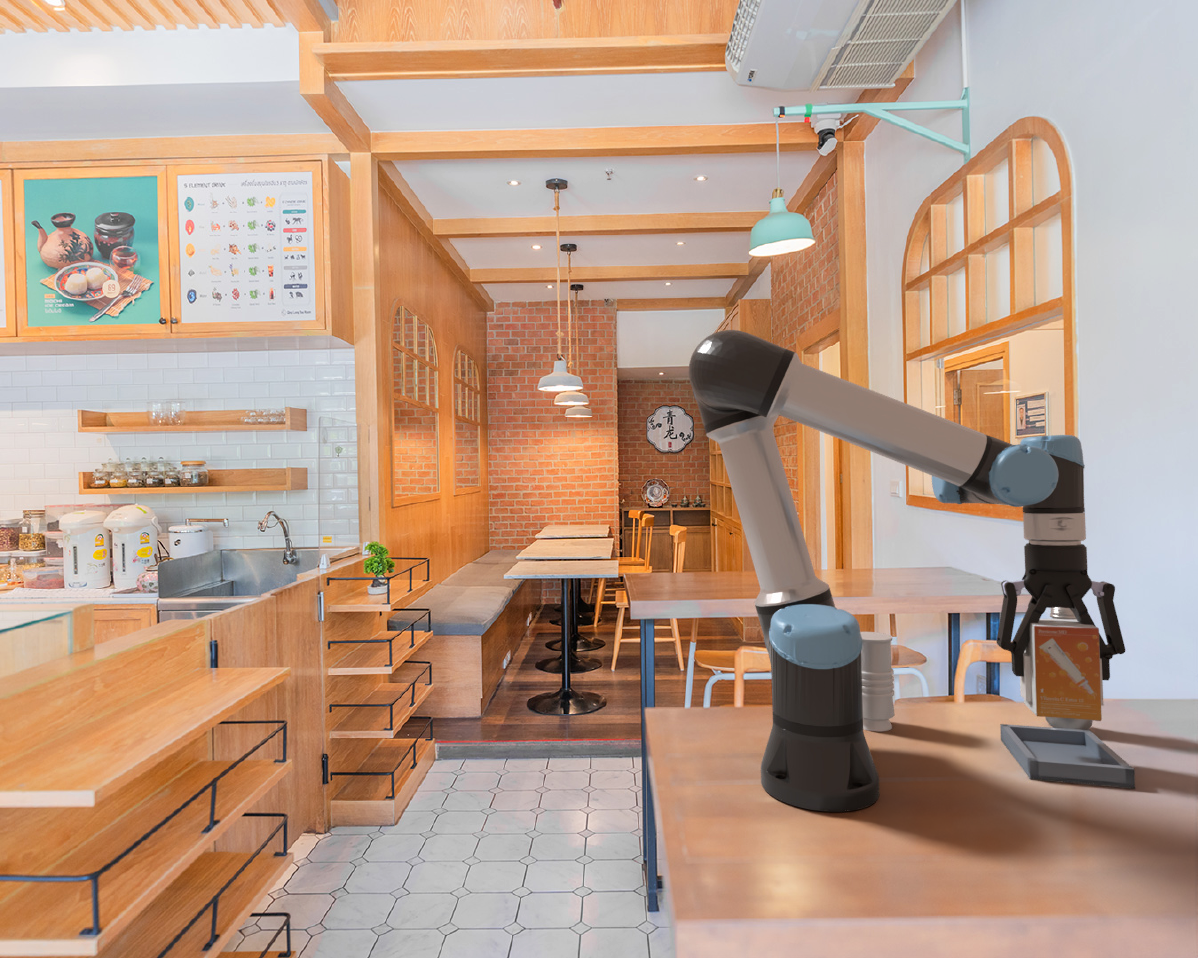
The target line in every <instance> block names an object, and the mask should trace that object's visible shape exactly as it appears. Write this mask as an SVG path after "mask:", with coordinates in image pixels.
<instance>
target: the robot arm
mask: <svg viewBox="0 0 1198 958" xmlns="http://www.w3.org/2000/svg"><path fill="white" fill-rule="evenodd" d="M688 378H689V383H690V385H691V388H692V392H693V396H694V399H695V401H696V404H697V408H698V410H699V414H700V418H701V420H702V425H703V427H704V428H703V429H704V431H705V435H706V437H707V438H709V439H711V440H712V441H715V442H716V443H717V444H718V447H719V448H720V452H721V455H722V459H723V463H724V466H725V470H726V473H727V476H728V479H729V480H728V481H729V483H730V487H731V490H732V495H733V497H734V498H733V499H734V502H735V505H736V508H737V512H738V515H739V518H740V522H741V526H742V528H743V533H744V536H745V540H746V544H747V546H748V550H749V553H750V557H751V561H752V565H753V567H754V570H755V575H756V578H757V582H758V584H759V588H760V590H759V593H758V594H757V595H756V596H757V597H756V598H755V600H754V602H753V603H754V607H755V609H756V615H757V617H758V620H759V625H760V627H761V631H762V635H763V639H764V644H765V649H766V651H767V653H768V658H769V663H770V671H771V674H770V675H771V703H772V704H771V705H772V707H771V708H772V727H771V730H770V734H769V736H768V740H767V743H766V747H765V750H764V753H763V755H762V759H761V763H760V783H761V786H762V788H763V789H764V791H765V792H767V794H769V795H770V796H772V797H773V798H775V799H776V800H778V801H781V802H784V803H786V804H788V805H791V806H794V807H798V808H802V809H805V810H811V811H817V812H818V811H819V812H829V813H831V812H832V813H836V812H839V813H840V812H851V811H852V812H853V811H857V810H861V809H864V808H868V807H871V805H873V804H874V803H876V802H877V801H878V799H879V797H880V778H879V772H878V770H877V767H876V764H875V762H874V758H873V756H872V754H871V750H870V748H869V745H868V742H867V738H866V737H865V734H864V733H865V732H864V729H863V704H862V666H861V650H862V643H863V642H862V637H861V634H860V632H861V628H860V622H859V621H858V620H857V618H856V617H855V616H854V615H853V614H852V613H851V612H849V611H847V610H844V609H840V608H839V609H838V608H837V607H836V606H835V601H834V598H833V595H832V592H831V588H830V584H828V582H827V583H826V582H825V581H823V580H821V579H820V578H818V577H817V576H816V573H815V570H814V565H813V563H812V559H811V557H810V553H809V549H808V546H807V543H806V539H805V535H804V532H803V528H802V525H801V522H800V518H799V515H798V512H797V508H796V505H795V501H794V498H793V494H792V492H791V491H792V490H791V488H790V484H789V480H788V478H787V473H786V470H785V468H784V464H783V461H782V456H781V454H780V453H781V452H780V450H779V447H778V443H777V441H776V440H777V439H776V437H775V432H774V430H773V428H774V425H775V424H776V423H777V422H776V421H777V419H778V418H779V416H781V417H783V418H786V419H789V420H791V421H793V422H796V423H798V424H801V425H803V426H806V427H808V428H810V429H811V428H812V429H814V430H816V431H818V432H821V433H824V434H826V435H829V436H832V437H834V438H836V439H839V440H841V441H844V442H847V443H849V444H852V445H854V446H856V447H859V448H862V449H864V450H867V451H869V452H871V453H874V454H877V455H879V456H882V457H885V458H887V459H889V460H892V461H894V462H897V463H899V464H902V465H905V466H907V467H909V468H912V469H915V470H917V471H919V472H922V473H925V474H927V475H929V476H931V485H932V492H933V493H934V497H935V499H936V500H937V501H938V502H940V503H943V504H957V505H962V504H984V505H985V504H986V505H987V504H989V505H1003V506H1010V507H1015V508H1020V507H1022V516H1023V517H1022V518H1023V519H1022V521H1023V523H1022V524H1023V539H1024V540H1026V541H1028V542H1027V543H1025V545H1024V546H1023V548H1024V549H1023V550H1024V552H1023V553H1024V569H1025V571H1024V575H1023V576H1022V578H1021V579H1020V580H1019V579H1018V580H1013V581H1009V580H1003V581H1001V583H1000V585H1001V591H1002V594H1003V599H1002V606H1001V612H1000V617H999V624H998V629H997V634H996V635H997V636H996V637H997V638H996V644H997V646H998V647H1000V649H1002V650H1004V651H1008V652H1009V653H1010V654H1011V655H1010V656H1011V671H1012V674H1014V676H1016V677H1019V684H1020V685H1019V689H1020V697H1021V698H1022V699H1023V701H1024V700H1025V701H1031V702H1032V688H1031V660H1030V656H1029V655H1028V654H1027V653H1026V652H1025V649H1026V647H1027V645H1028V643H1029V641H1030V623H1038V622H1039V620H1040V619H1041V617H1042V615H1043V614H1044V613H1045V612H1046V609H1047V608H1049V609H1051V608H1055V607H1064V608H1070V609H1071V611H1072V612H1073V614H1074V615H1075V617H1076V619H1077V621H1078V622H1080V623H1082V624H1084V625H1094V626H1096V625H1095V622H1094V620H1093V619H1092V617H1091V615H1090V614H1089V610H1088V608H1087V606H1086V604H1085V602H1084V601H1083V598H1084V597H1085V596H1086V595H1087V593H1088V592H1089V591H1090V590H1091V591H1092V594H1093V595H1094V596H1095V597H1096V602H1097V603H1096V604H1097V607H1098V611H1099V615H1100V618H1101V622H1102V623H1101V624H1102V627H1103V631H1104V635H1105V638H1106V642H1105V641H1104V639H1103V637H1102V635H1101V634H1100V632H1099V648H1100V679H1101V707H1102V706H1104V705H1105V704H1104V684H1103V683H1104V682H1103V681H1109V680H1110V679H1111V670H1110V669H1111V668H1110V667H1111V666H1110V665H1111V663H1110V660H1112V659H1113V657H1114V656H1115V655H1123V654H1124V653H1126V646H1125V642H1124V638H1123V634H1122V630H1121V627H1120V623H1119V618H1118V614H1117V609H1116V606H1115V602H1114V599H1115V592H1116V586H1115V585H1114V584H1112V583H1110V582H1108V581H1104V580H1103V581H1094V580H1092V579H1091V578H1090V576H1089V574H1088V552H1087V551H1088V548H1087V547H1088V546H1086V545H1085V544H1082V541H1083V542H1085V541H1086V539H1087V534H1086V533H1087V531H1086V529H1087V527H1086V508H1085V481H1084V479H1085V476H1084V475H1085V474H1084V471H1085V463H1084V454H1083V448H1082V443H1081V440H1080V438H1078V437H1077V436H1075V435H1073V434H1071V435H1070V434H1055V435H1053V434H1052V435H1038V436H1027V437H1024V438H1022V439H1021V440H1020V443H1019V444H1012V443H1009V442H1007V441H1004V440H1001V439H999V438H997V437H994V436H990V435H988V434H985V433H984V432H980V431H978V430H975V429H973V428H971V427H967V426H965V425H964V424H963V425H962V424H960V423H958V422H955V421H953V420H950V419H946V418H944V417H942V416H940V415H937V414H935V413H934V414H933V413H931V412H929V411H926V410H924V409H921V408H918V407H916V406H913V405H911V404H908V403H907V402H903V401H900V400H898V399H895V398H893V397H891V396H890V397H889V396H888V395H884V394H882V393H880V392H878V391H875V390H872V389H870V388H867V387H864V386H861V385H859V384H856V383H854V382H852V381H849V380H846V379H843V378H840V377H838V376H835V375H834V374H832V373H831V374H830V373H827V372H825V371H823V370H820V369H817V368H815V367H812V366H809V365H808V364H804V363H803V362H802V361H801V359H800V357H799V355H798V353H797V352H795V351H792V350H789V349H787V348H785V347H783V346H780V345H778V344H775V343H773V342H771V341H768V340H766V339H763V338H761V337H759V336H756V335H753V334H751V333H749V332H746V331H742V330H738V329H737V330H736V329H727V330H726V329H725V330H720V331H717V332H714V333H712V334H710V335H708V336H706V337H705V338H703V340H702V341H701V342H700V343H699V344H698V345H697V346H696V348H695V349H694V351H693V353H692V354H691V357H690V359H689V365H688ZM1023 589H1025V590H1026V591H1027V593H1029V595H1030V596H1031V598H1030V600H1029V602H1028V605H1027V609H1026V611H1025V613H1024V615H1023V617H1022V618H1023V620H1022V622H1020V625H1019V627H1018V629H1017V630H1016V633H1015V634H1014V637H1013V630H1014V624H1015V618H1016V613H1017V605H1018V597H1019V596H1020V595H1021V594H1022V590H1023ZM1012 637H1013V639H1012ZM1106 643H1107V644H1106Z"/></svg>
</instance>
